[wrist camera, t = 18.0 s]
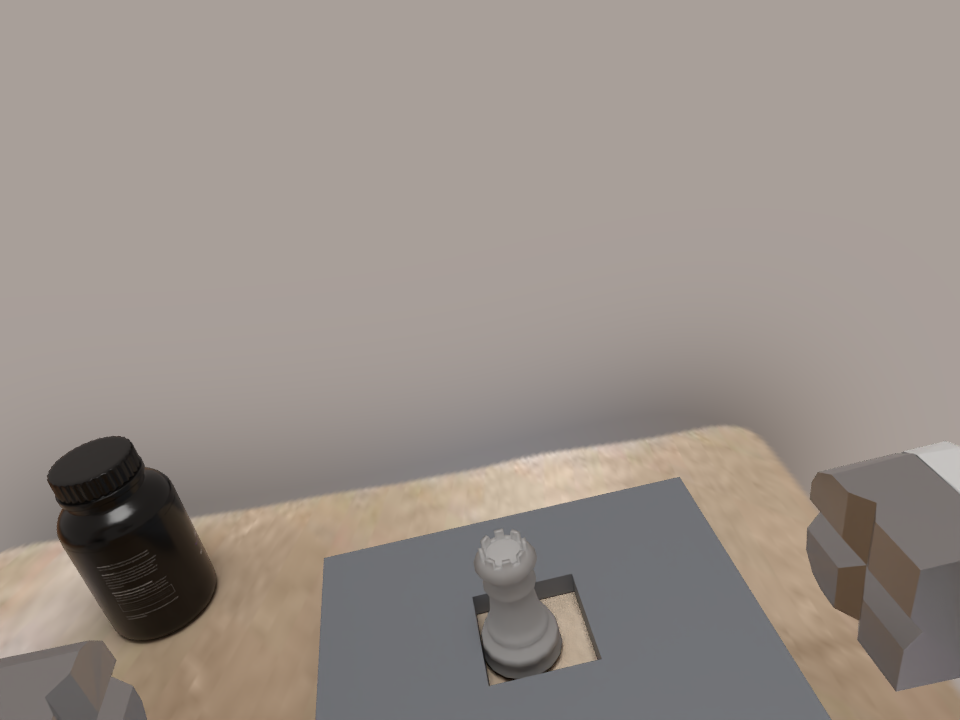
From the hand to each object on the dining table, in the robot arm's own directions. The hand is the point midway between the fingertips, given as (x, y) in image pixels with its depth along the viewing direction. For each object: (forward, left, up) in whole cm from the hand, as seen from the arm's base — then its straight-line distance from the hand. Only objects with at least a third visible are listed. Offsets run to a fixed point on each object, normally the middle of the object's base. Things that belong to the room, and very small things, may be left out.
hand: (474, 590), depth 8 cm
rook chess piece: (+1, +21, -28) cm, 35 cm away
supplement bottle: (-21, +31, -28) cm, 47 cm away
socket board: (+2, +21, -28) cm, 35 cm away
